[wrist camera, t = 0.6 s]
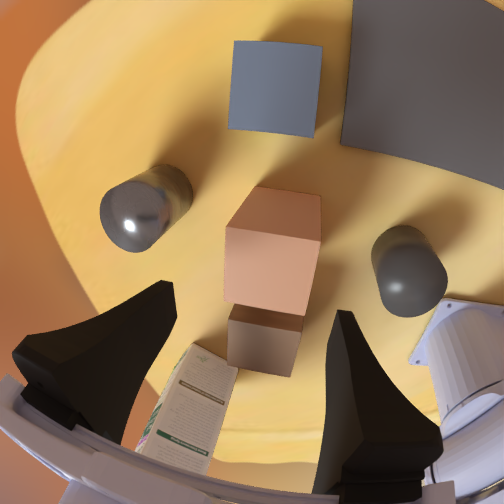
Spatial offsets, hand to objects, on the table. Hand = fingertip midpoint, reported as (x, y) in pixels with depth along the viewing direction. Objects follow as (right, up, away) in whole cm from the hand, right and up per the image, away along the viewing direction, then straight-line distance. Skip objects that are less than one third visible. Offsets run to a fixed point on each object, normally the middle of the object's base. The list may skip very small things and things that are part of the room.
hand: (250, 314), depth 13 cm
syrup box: (-5, -10, +18) cm, 21 cm away
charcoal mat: (+13, +14, +1) cm, 19 cm away
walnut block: (+2, -2, +12) cm, 13 cm away
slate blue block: (+2, +13, +4) cm, 14 cm away
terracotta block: (+2, +5, +8) cm, 10 cm away
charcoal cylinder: (+11, +3, +8) cm, 14 cm away
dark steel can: (-6, +7, +9) cm, 13 cm away
